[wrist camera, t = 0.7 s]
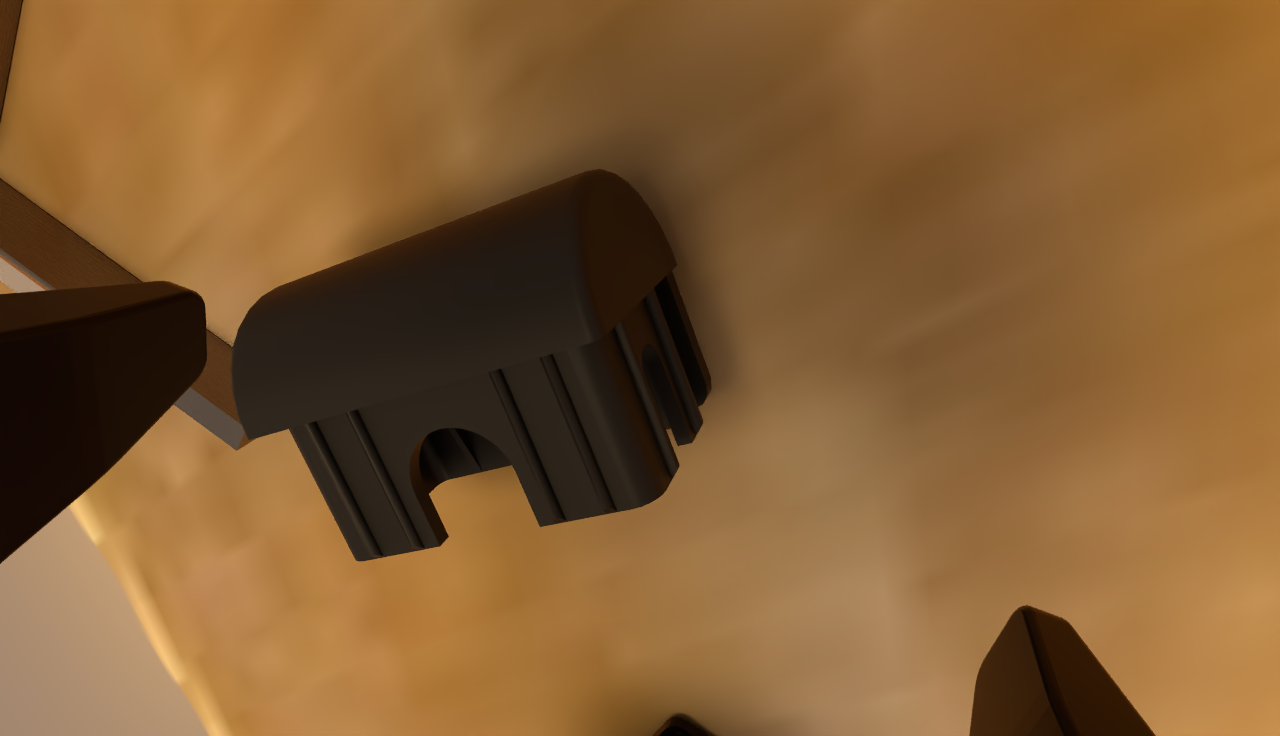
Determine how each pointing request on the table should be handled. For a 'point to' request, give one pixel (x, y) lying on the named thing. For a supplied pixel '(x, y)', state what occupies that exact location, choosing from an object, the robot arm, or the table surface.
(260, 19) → the table surface
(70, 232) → the frame
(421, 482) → the end cap
